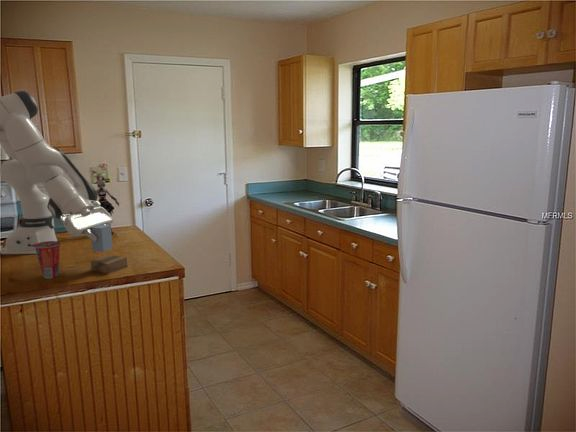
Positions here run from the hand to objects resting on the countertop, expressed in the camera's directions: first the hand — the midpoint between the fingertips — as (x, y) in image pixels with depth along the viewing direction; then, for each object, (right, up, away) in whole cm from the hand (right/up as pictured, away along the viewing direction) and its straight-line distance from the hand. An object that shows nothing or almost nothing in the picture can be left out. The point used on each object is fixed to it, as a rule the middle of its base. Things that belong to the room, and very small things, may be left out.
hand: (102, 237), depth 177 cm
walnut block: (+2, -12, +3) cm, 13 cm away
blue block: (0, -5, +1) cm, 5 cm away
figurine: (-20, -1, +56) cm, 60 cm away
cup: (-17, -14, -6) cm, 23 cm away
